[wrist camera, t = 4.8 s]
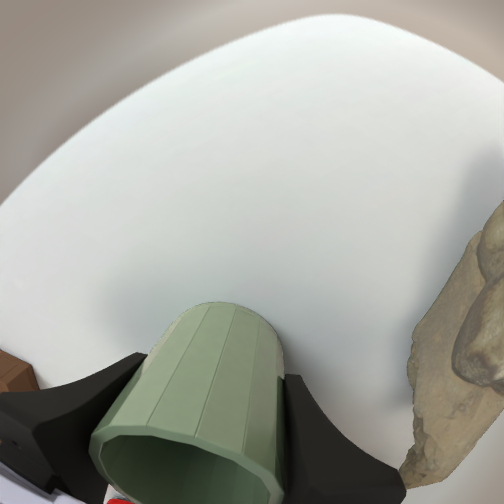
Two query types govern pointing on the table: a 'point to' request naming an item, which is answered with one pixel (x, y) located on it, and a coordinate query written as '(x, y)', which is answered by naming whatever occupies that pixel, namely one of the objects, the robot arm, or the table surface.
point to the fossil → (459, 361)
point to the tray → (15, 375)
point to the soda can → (120, 501)
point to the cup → (200, 415)
